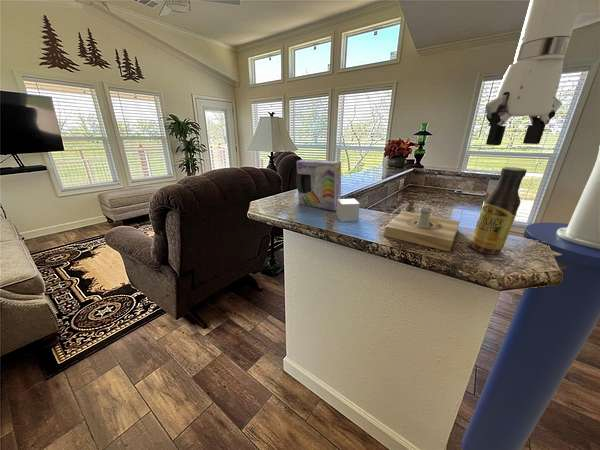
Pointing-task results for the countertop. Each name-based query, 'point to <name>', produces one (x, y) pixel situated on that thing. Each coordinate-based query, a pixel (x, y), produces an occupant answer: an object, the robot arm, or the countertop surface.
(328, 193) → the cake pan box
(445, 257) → the countertop surface
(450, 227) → the wooden block
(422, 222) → the rook chess piece
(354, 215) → the white cube
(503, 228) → the sauce bottle
